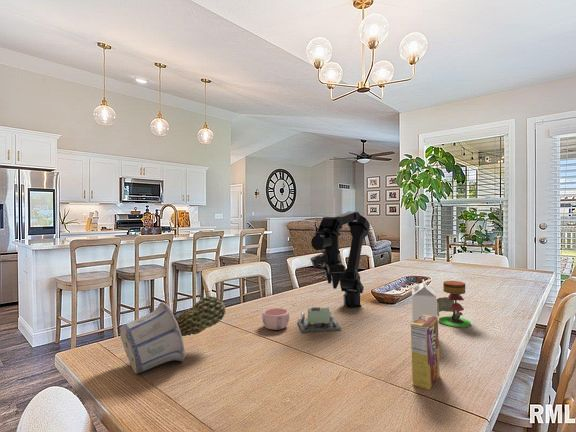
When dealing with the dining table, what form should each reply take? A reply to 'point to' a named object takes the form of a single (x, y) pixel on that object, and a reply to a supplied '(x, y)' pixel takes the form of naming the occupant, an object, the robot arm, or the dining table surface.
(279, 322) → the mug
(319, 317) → the pale green block
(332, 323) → the chassis
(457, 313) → the brown and green pedestal
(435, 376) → the candy box
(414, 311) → the milk carton
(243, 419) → the dining table surface
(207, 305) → the potted plant
